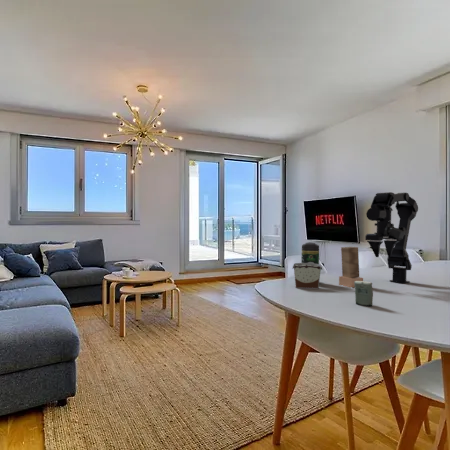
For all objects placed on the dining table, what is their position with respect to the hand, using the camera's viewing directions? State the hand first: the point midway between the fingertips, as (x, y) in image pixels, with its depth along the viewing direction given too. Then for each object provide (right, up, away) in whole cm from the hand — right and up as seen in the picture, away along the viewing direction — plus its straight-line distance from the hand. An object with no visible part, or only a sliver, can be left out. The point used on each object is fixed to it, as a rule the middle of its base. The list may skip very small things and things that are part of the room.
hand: (383, 256), depth 145 cm
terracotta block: (-14, -13, +1) cm, 19 cm away
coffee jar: (-31, -13, +6) cm, 34 cm away
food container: (-35, -13, -4) cm, 37 cm away
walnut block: (-14, -9, +1) cm, 16 cm away
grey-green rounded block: (-23, -13, -34) cm, 43 cm away
